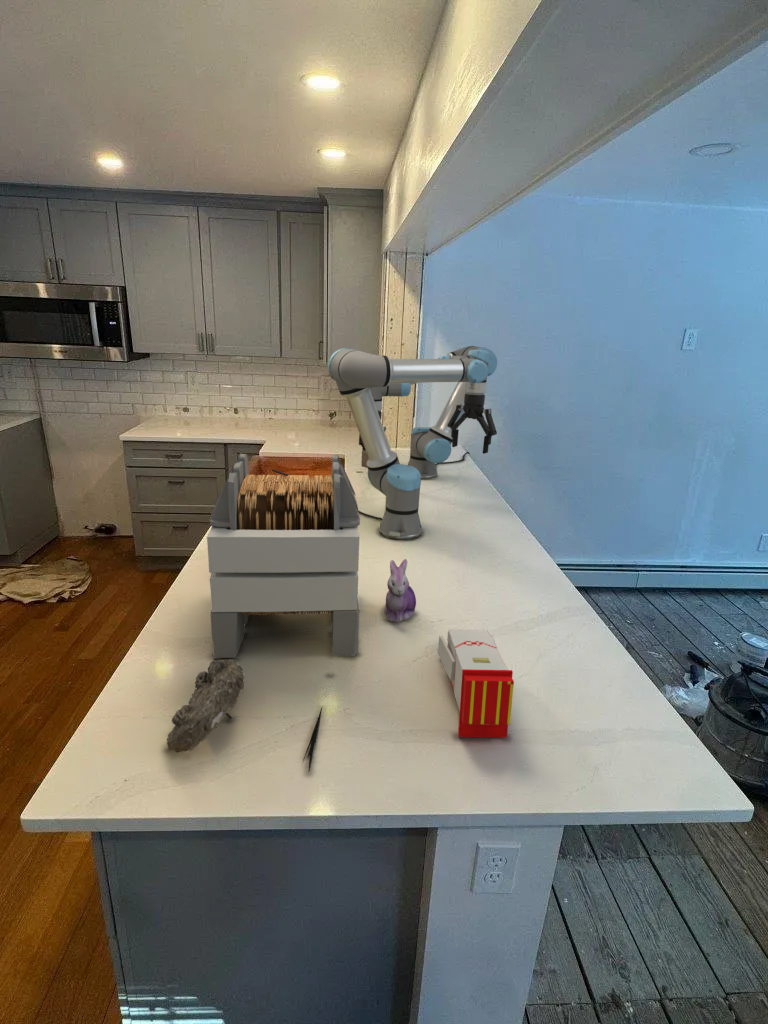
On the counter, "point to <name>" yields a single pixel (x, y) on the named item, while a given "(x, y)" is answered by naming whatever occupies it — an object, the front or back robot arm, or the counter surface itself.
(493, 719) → the toy
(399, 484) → the front robot arm
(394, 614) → the figurine
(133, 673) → the counter surface
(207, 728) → the fossil
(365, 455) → the metal block
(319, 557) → the record crate stand
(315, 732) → the feather
